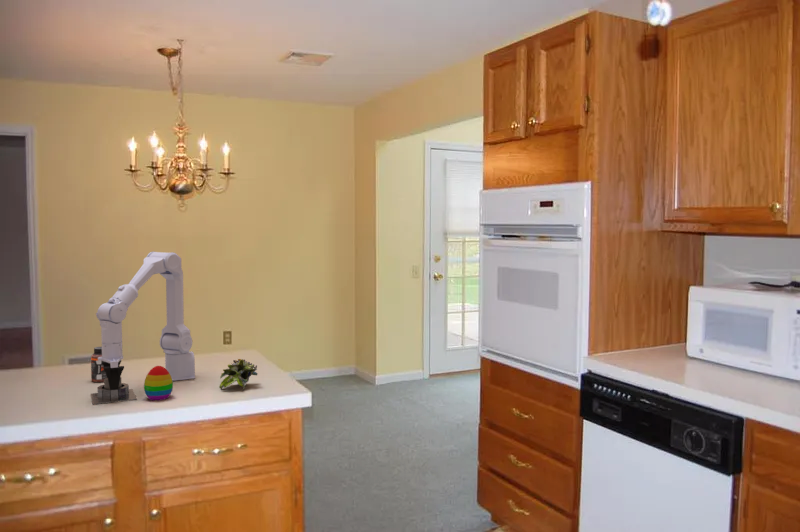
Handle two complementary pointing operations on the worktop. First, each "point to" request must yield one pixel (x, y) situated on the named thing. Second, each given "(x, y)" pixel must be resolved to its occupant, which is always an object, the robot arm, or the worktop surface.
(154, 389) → the decorative egg
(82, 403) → the worktop surface
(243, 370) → the leafy green plant
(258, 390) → the worktop surface
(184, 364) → the robot arm
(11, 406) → the worktop surface
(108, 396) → the gray square plate
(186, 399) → the worktop surface
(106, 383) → the cap
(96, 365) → the supplement bottle
